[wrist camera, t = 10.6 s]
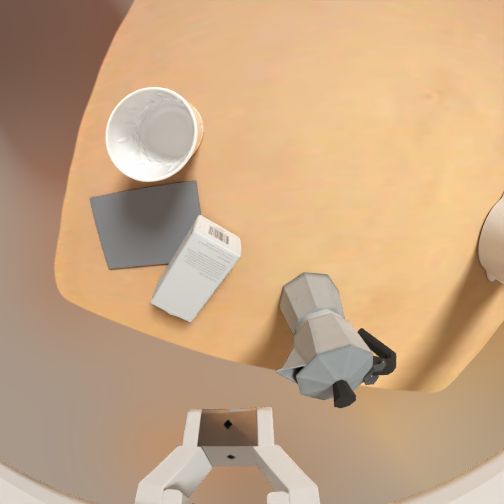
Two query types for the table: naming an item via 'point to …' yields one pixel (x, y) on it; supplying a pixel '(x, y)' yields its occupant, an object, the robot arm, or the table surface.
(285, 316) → the coffee maker
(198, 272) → the skincare box
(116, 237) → the mat
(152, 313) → the table surface
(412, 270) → the table surface
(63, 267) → the table surface
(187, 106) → the white cup
